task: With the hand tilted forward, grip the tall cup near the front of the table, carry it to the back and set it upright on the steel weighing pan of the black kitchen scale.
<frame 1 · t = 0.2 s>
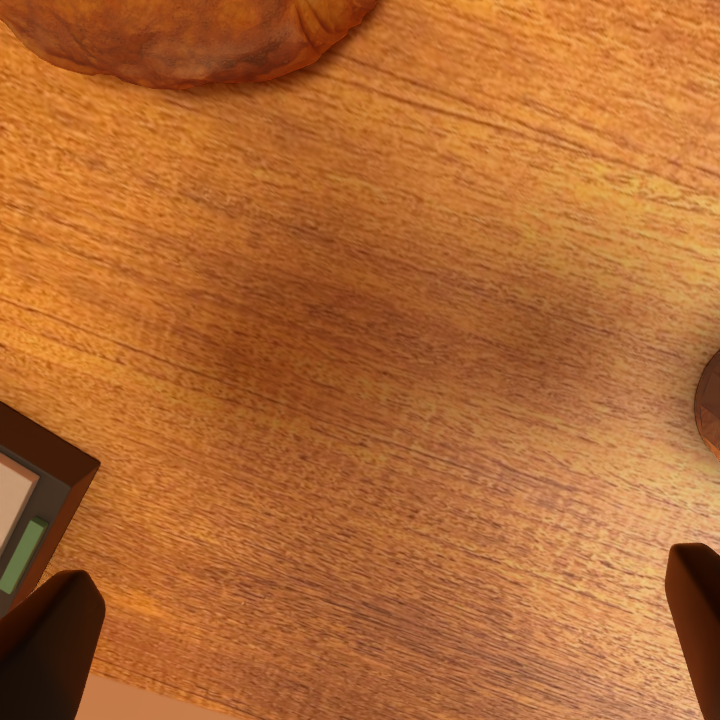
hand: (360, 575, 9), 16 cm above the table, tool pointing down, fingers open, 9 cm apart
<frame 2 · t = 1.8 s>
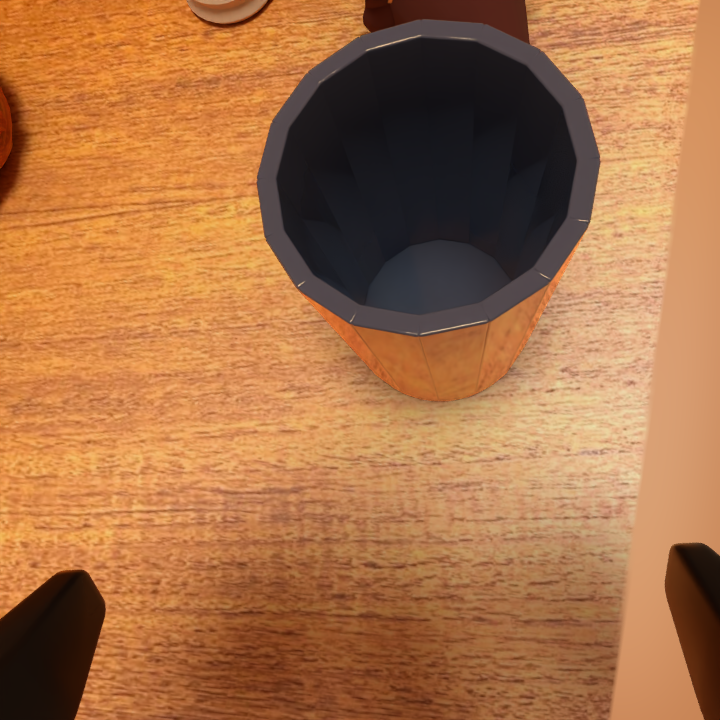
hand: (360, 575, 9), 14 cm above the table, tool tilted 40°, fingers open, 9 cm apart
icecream: (450, 41, 26), on the table
cup: (439, 316, 24), on the table
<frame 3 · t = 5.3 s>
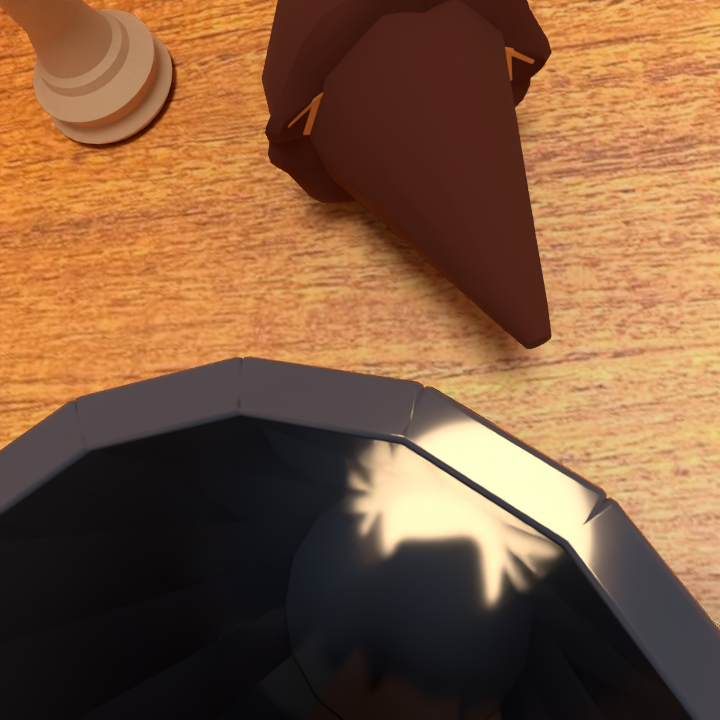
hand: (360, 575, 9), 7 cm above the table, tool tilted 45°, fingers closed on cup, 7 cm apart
chess piece: (117, 93, 21), on the table
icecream: (411, 166, 18), on the table
cup: (406, 602, 15), on the table, touching gripper
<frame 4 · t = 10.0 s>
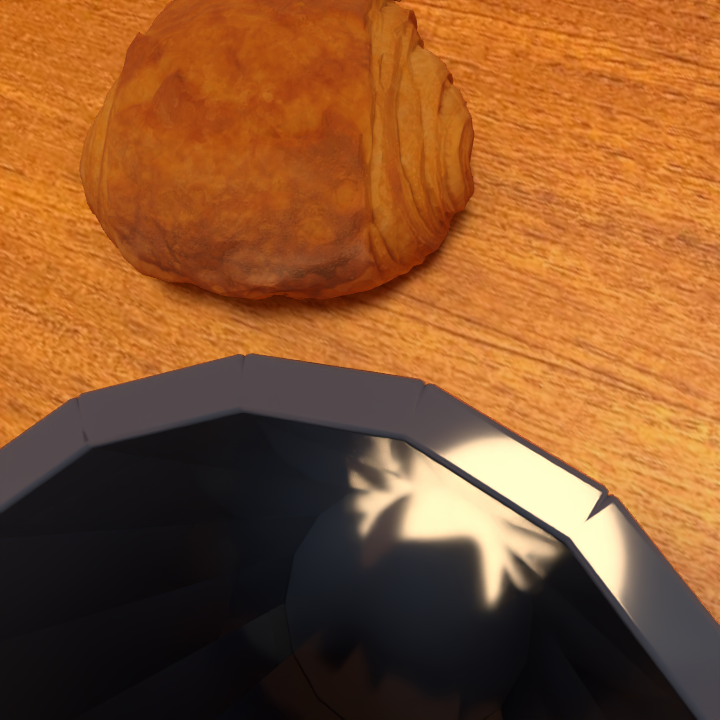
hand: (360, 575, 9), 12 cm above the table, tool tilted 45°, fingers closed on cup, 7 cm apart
croissant: (299, 166, 25), on the table
cup: (406, 601, 15), point 6 cm above the table, touching gripper
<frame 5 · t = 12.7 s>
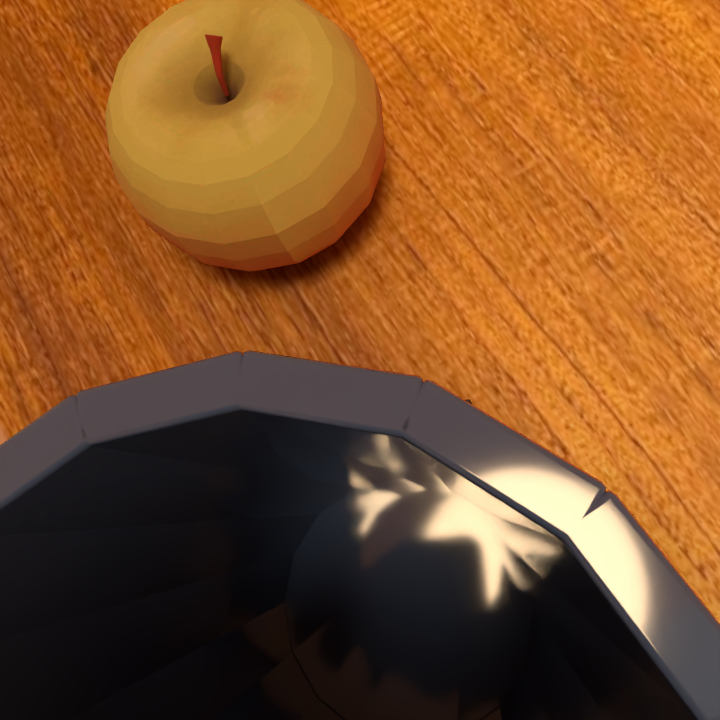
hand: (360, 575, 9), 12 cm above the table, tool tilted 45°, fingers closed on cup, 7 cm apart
apple: (283, 193, 25), on the table
cup: (406, 600, 15), point 6 cm above the table, touching gripper
when the fingers open (10 cm above the table, at t = 14.8 s): cup stays where it is, resting on scale.
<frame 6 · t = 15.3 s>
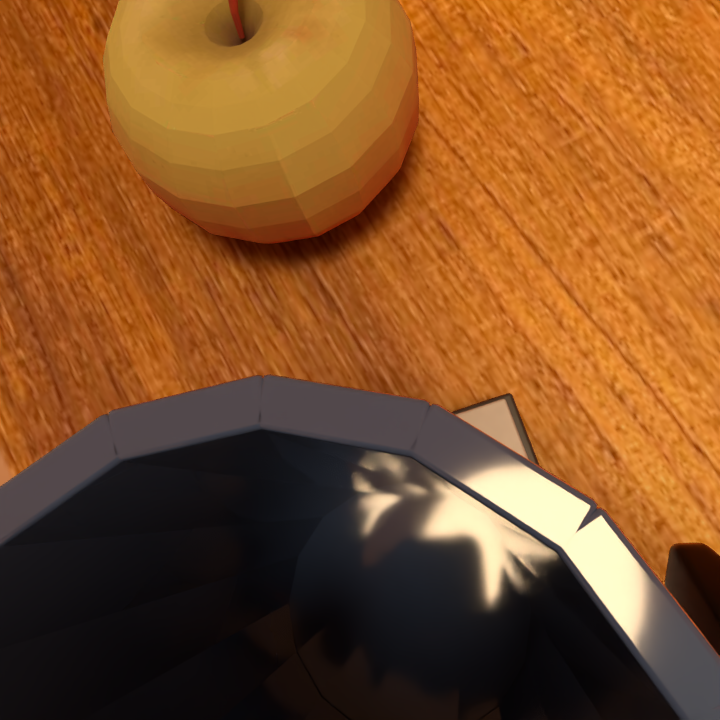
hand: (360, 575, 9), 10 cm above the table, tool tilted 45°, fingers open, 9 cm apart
scale: (418, 586, 18), on the table
apple: (301, 162, 23), on the table
cup: (408, 601, 15), point 3 cm above the table, touching scale
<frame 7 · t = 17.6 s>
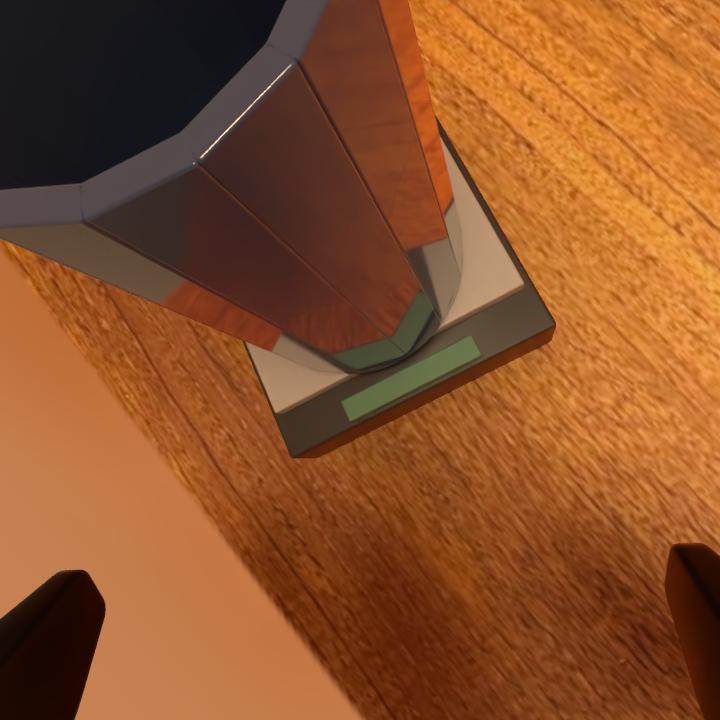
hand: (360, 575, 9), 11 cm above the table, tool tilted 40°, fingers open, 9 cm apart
scale: (374, 290, 21), on the table
cup: (351, 264, 18), point 3 cm above the table, touching scale
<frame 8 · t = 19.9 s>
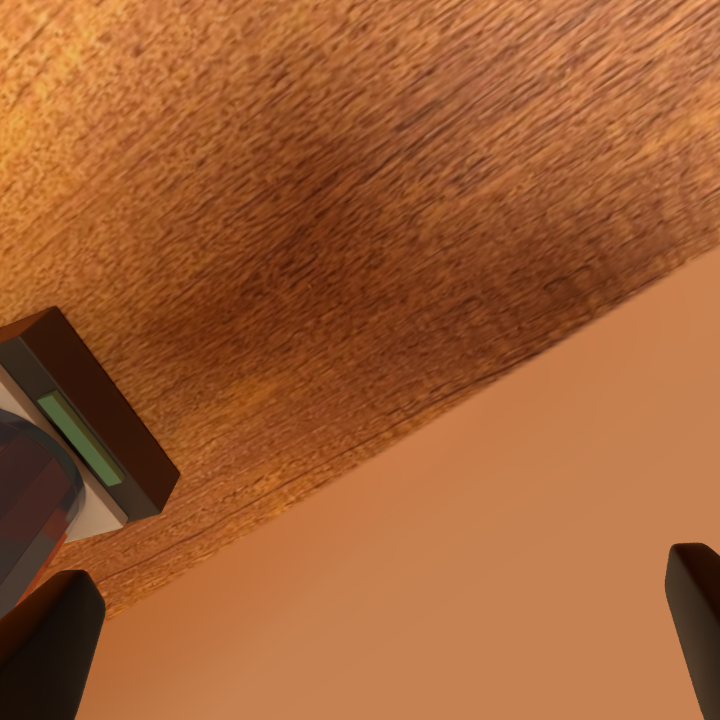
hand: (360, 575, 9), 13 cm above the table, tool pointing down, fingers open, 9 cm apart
scale: (40, 426, 25), on the table
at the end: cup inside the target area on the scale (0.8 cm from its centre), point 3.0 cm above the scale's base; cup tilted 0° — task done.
